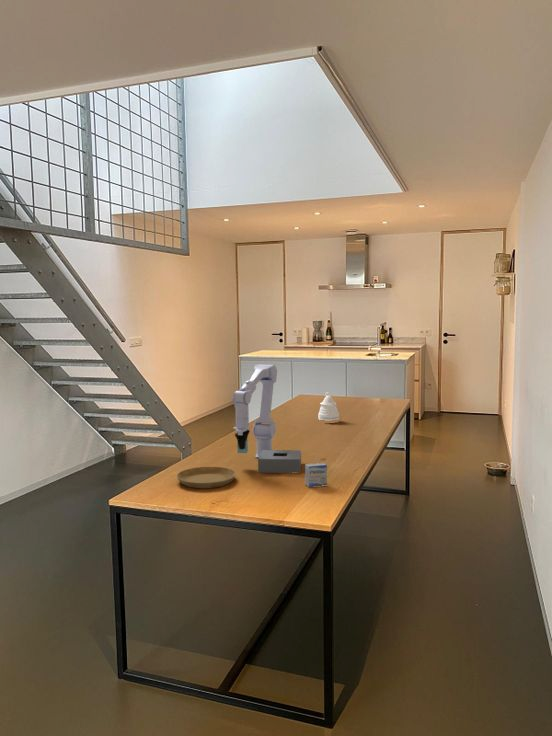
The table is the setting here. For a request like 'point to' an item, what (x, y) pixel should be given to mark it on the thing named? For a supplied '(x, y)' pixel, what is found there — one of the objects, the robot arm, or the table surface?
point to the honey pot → (328, 409)
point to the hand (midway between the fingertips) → (242, 447)
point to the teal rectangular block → (244, 448)
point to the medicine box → (315, 474)
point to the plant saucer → (206, 477)
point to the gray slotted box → (279, 461)
